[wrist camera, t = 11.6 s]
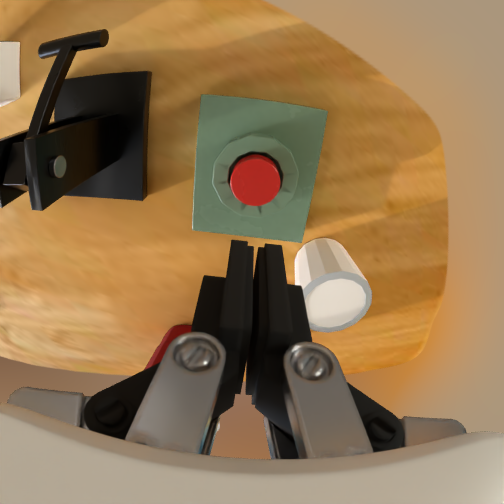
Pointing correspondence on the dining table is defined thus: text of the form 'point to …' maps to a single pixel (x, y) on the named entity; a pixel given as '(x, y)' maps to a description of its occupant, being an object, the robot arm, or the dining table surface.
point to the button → (255, 180)
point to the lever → (49, 96)
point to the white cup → (331, 285)
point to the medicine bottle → (9, 71)
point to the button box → (261, 143)
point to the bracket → (88, 142)
